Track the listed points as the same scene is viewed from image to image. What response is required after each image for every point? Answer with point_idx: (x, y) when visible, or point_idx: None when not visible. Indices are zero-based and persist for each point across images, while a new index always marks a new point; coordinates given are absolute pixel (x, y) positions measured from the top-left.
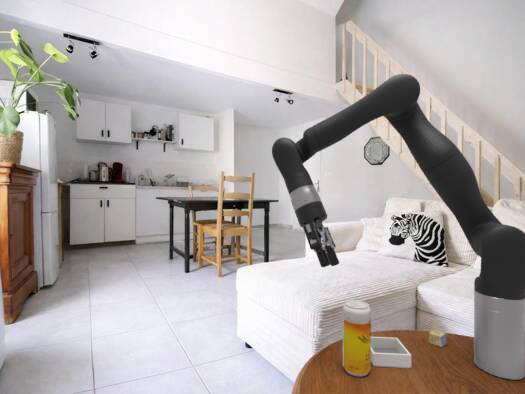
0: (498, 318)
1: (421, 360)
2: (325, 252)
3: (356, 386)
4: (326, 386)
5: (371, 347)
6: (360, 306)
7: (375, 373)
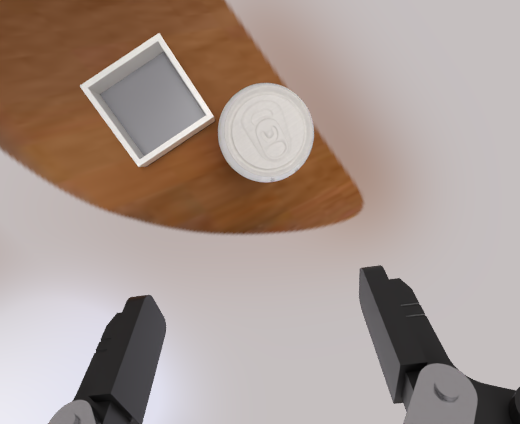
0: None
1: (109, 30)
2: (415, 336)
3: None
4: (337, 172)
5: (186, 129)
6: (277, 114)
7: None
